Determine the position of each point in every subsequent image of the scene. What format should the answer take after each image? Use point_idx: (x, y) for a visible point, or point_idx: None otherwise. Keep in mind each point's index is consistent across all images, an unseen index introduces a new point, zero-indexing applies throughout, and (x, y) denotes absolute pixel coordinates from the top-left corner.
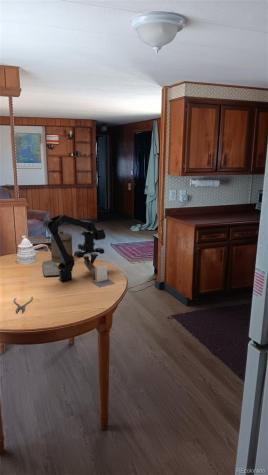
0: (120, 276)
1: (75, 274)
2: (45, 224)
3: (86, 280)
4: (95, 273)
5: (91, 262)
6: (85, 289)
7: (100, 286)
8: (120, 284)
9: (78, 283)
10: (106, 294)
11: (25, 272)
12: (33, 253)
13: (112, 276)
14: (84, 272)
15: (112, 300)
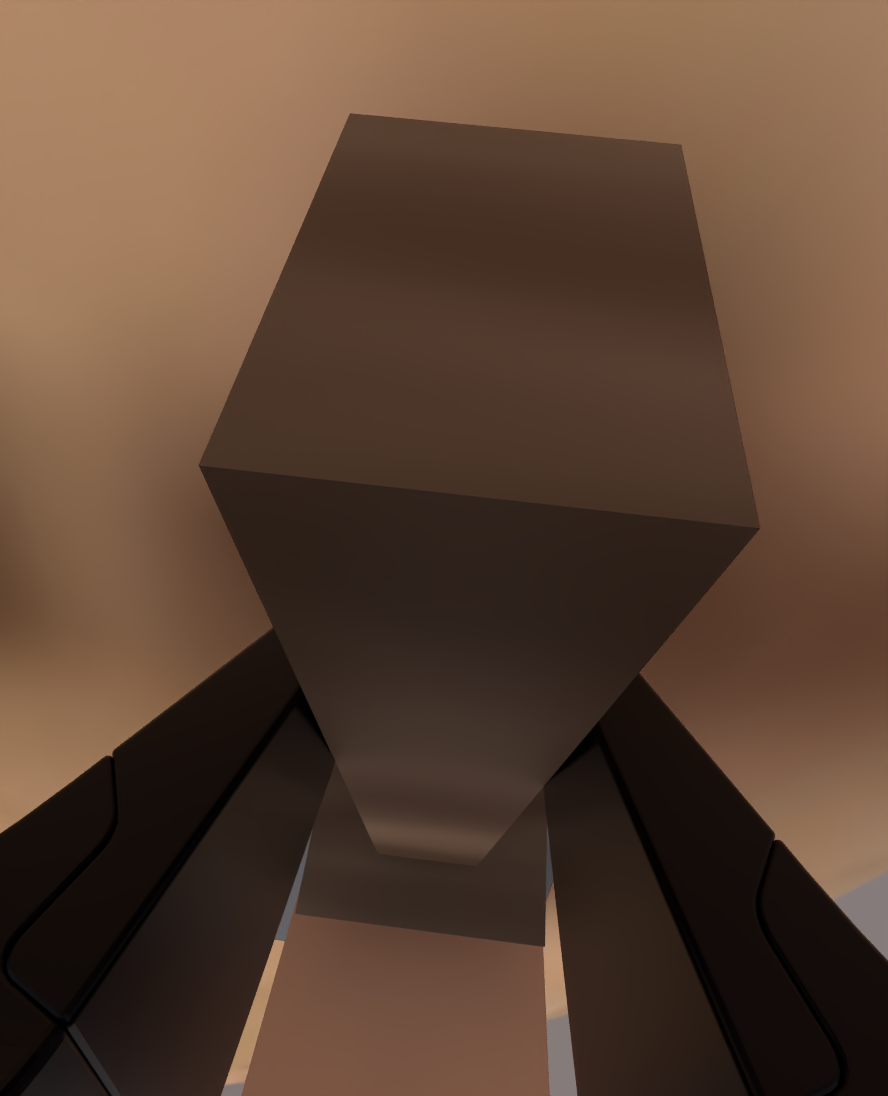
0: (853, 871)
1: (78, 61)
2: None
3: (214, 664)
4: (275, 984)
5: (560, 765)
6: None
7: (286, 929)
8: (559, 988)
9: (20, 680)
10: (249, 1017)
11: None
12: None
13: (761, 803)
14: (472, 89)
15: (236, 1072)
